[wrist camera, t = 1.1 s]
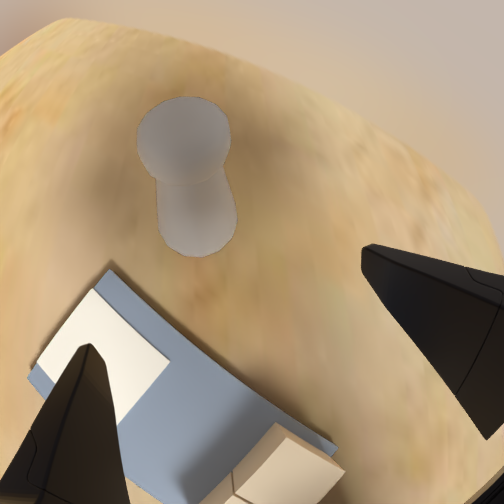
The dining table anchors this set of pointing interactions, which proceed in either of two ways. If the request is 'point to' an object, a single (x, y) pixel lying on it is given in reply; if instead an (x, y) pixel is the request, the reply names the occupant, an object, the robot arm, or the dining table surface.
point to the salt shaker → (189, 174)
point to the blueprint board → (187, 411)
